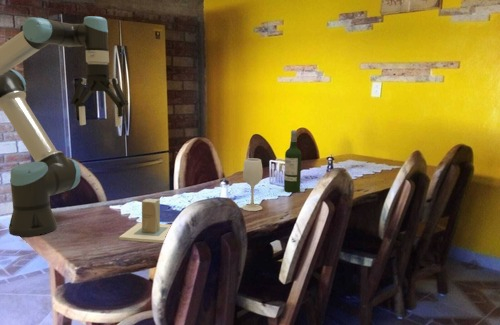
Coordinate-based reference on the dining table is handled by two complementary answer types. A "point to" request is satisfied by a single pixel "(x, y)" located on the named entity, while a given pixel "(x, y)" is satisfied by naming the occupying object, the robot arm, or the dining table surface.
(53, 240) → the dining table surface
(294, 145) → the wine bottle
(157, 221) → the box
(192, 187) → the dining table surface
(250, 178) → the wineglass
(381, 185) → the dining table surface
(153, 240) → the tile
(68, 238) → the dining table surface
